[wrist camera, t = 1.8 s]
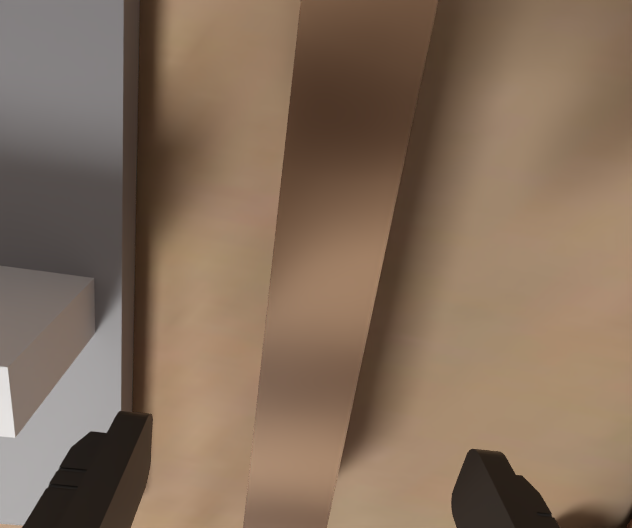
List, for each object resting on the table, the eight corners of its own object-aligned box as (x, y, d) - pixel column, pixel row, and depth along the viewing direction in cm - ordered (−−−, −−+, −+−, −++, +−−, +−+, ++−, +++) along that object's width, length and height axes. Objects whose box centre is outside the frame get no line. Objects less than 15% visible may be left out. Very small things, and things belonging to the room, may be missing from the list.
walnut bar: (307, -48, 15) (313, -117, 9) (398, -32, 15) (457, -90, 9) (247, 490, 24) (233, 617, 18) (304, 494, 24) (306, 620, 19)
